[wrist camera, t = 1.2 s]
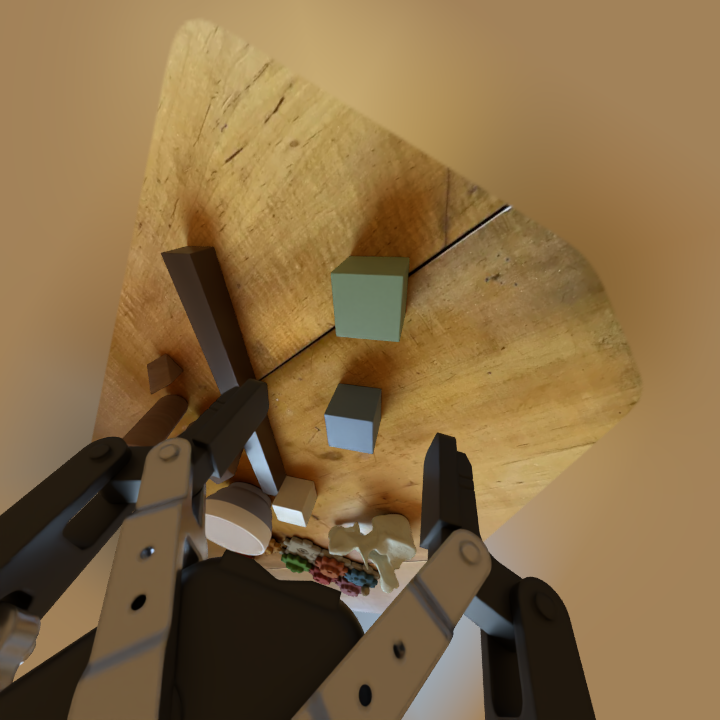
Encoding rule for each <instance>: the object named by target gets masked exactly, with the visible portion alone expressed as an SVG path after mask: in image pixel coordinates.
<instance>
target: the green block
mask: <svg viewBox="0 0 720 720" xmlns="http://www.w3.org/2000/svg"><path fill="white" fill-rule="evenodd" d="M408 273H409V257H371V256H349V257H348V258H347V259H346V260H345V261H343V262H342V263H341V264H340V265H339V266H338V267H337V268H336V269H334V270H333V271H332V272H331V281H332V293H333V304H334V315H335V327H336V336H340V337H351V338H362V339H373V340H384V341H395V342H399V341H400V337H401V332H402V328H403V323H404V318H405V312H406V299H407V286H408Z"/></svg>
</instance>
